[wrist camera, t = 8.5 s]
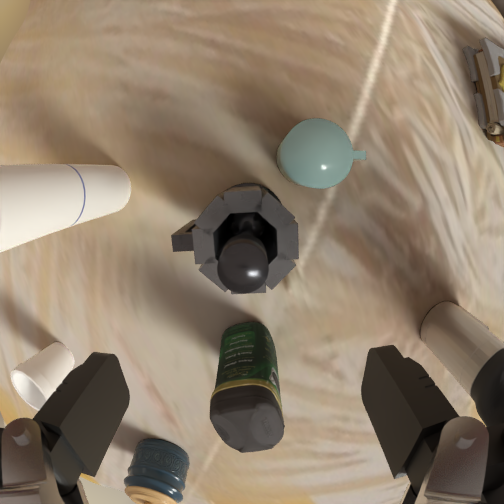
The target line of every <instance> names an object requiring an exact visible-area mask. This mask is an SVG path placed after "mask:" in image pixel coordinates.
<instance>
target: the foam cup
mask: <svg viewBox="0 0 504 504" xmlns="http://www.w3.org/2000/svg"><path fill="white" fill-rule="evenodd" d="M74 363H75V361H74V357H73V355H72V353H71V351H70V350H69V349H68V348H67V347H66V346H65V345H63V344H61V343H59V342H54V343H52V344H51V345H49V346H48V347H46V348H45V349H43V350H42V351H40V352H39V353H37V354H36V355H34V356H33V357H31V358H30V359H28V360H27V361H25V362H24V363H21V364H19V365H18V366H17V367H16V368H15V369H14V370H13V371H12V372H11V381H12V383H13V386H14V388H15V389H16V391H17V392H18V394H19V395H20V396H21V397H22V399H23V400H24V401H25V402H26V403H27V404H29V405H30V406H31V407H33V408H34V409H36V410H38V411H39V410H40V409H41V407H42V406H43V405H44V404H45V402H46V401H47V400H48V398H49V397H50V396H51V395H52V393H53V392H54V391H55V392H56V388H57V387H58V386H59V385H60V383H61V384H62V381H63V380H64V378H65V377H66V376H67V375H68V374H69V372H71V370H72V368H73V366H74Z"/></svg>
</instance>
